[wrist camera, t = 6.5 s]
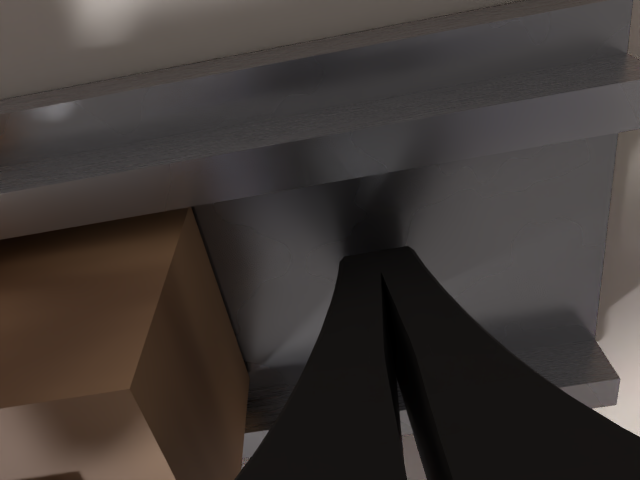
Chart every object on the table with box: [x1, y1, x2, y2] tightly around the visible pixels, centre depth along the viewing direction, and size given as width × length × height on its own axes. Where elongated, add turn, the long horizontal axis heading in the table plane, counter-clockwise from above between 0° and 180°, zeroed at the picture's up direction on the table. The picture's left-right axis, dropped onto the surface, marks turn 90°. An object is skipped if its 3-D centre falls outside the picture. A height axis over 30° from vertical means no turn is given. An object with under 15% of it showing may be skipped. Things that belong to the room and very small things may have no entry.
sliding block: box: [0, 207, 250, 480], centre depth 10 cm, size 4×5×5 cm
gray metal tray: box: [0, 0, 640, 458], centre depth 12 cm, size 14×9×2 cm, turn 100°
